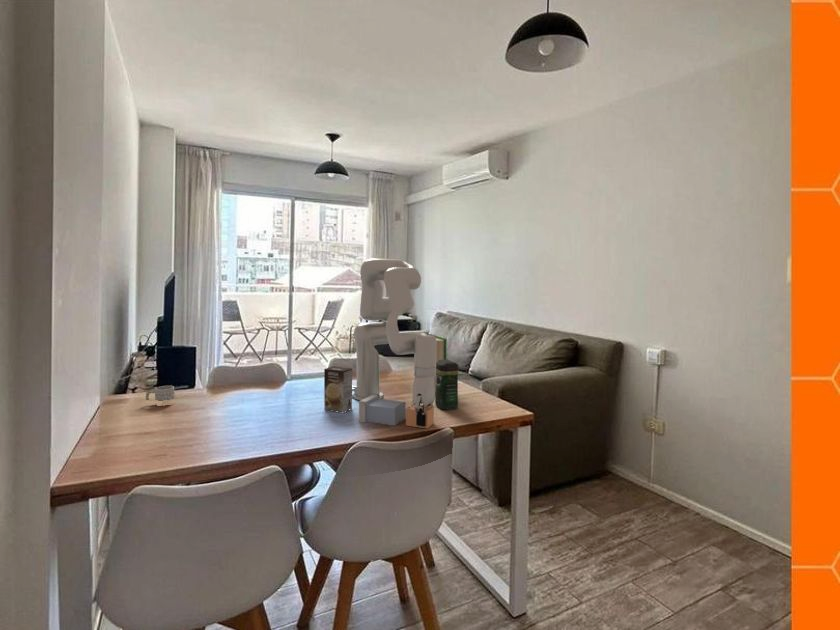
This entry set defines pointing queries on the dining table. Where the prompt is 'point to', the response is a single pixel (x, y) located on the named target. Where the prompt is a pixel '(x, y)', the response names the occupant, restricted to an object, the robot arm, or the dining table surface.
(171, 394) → the mug
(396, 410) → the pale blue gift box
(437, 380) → the coffee jar
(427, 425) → the peach rectangular block
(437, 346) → the hardback book
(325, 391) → the coffee box
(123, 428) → the dining table surface
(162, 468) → the dining table surface
